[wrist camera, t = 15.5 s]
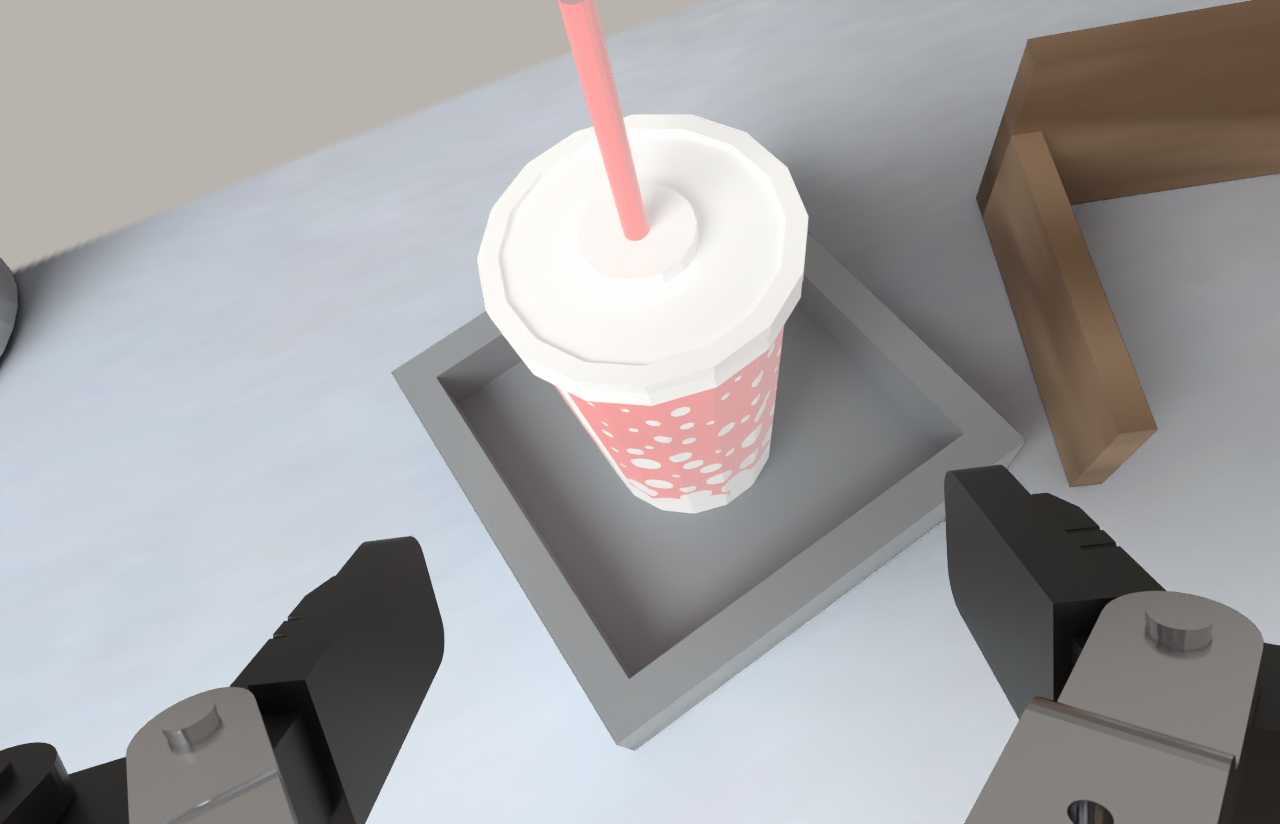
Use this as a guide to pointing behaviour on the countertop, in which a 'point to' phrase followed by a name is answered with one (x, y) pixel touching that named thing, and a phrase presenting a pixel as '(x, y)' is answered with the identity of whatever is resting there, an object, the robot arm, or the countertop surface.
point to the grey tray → (716, 538)
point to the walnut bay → (1116, 189)
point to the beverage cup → (651, 285)
